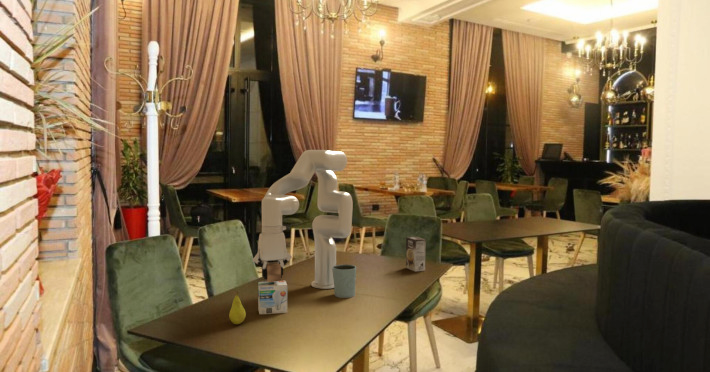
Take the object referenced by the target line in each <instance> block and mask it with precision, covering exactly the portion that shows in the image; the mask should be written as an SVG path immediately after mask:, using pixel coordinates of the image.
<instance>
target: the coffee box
mask: <svg viewBox="0 0 710 372" xmlns="http://www.w3.org/2000/svg"><path fill="white" fill-rule="evenodd" d="M405 238H406V240H405V242H406V243H405V246H406V247H405V259H406V260H405V268H406V269H407V270H410V271H413V272H423V271H424V272H425V271H426V246H427V245H426V241H427V240H426V239H425V238H423V237H419V236H406V237H405Z"/></svg>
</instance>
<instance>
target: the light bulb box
mask: <svg viewBox="0 0 710 372" xmlns="http://www.w3.org/2000/svg"><path fill="white" fill-rule="evenodd" d="M257 292H258V293H257V296H258V297H257V299H258V300H257V303H258V304H257V306H258V308H257V310H258V313H259V315H272V314H286V313H288V284H287V281H286V280H281V281H275V282H267V281H259V282H258V283H257Z"/></svg>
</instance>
